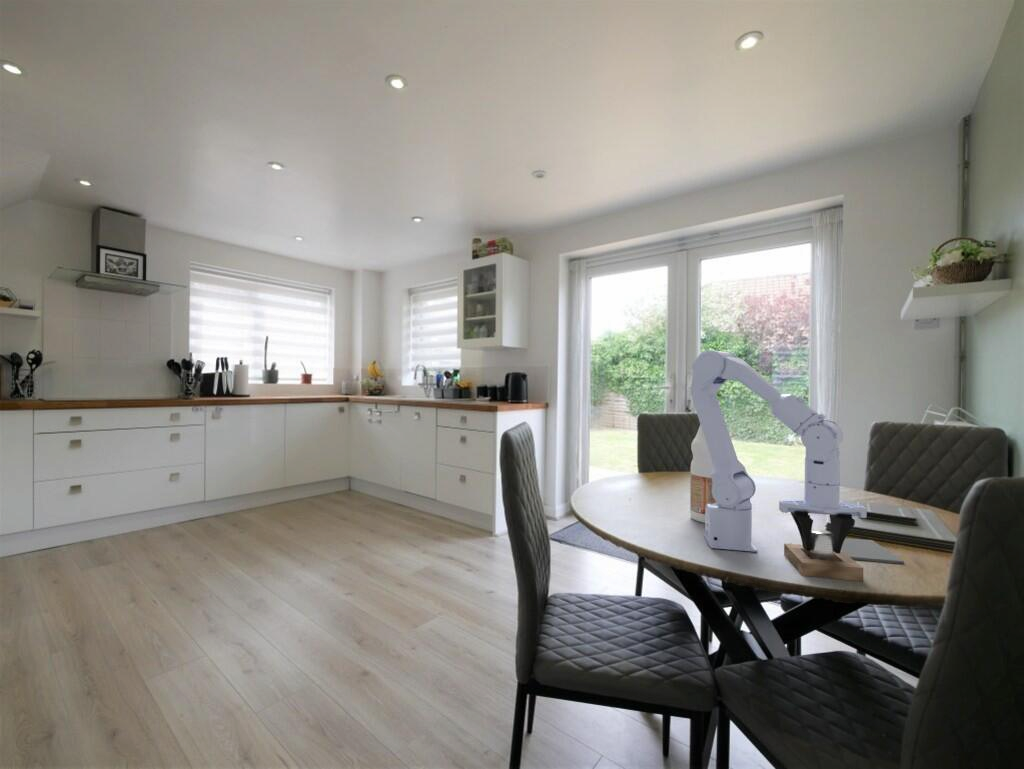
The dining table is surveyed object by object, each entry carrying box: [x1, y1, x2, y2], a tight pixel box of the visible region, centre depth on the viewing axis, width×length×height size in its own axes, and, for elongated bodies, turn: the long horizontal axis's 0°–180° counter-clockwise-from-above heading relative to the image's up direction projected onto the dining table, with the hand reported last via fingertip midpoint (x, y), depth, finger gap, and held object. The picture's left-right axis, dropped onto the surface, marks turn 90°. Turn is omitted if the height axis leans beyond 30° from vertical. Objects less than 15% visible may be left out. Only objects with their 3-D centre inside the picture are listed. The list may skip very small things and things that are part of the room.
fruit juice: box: [689, 424, 716, 524], centre depth 119 cm, size 9×9×28 cm
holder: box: [783, 543, 864, 582], centre depth 89 cm, size 10×10×2 cm
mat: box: [841, 537, 905, 565], centre depth 98 cm, size 12×12×1 cm
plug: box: [809, 528, 834, 561], centre depth 89 cm, size 4×4×7 cm
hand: (821, 550), depth 89 cm, fingers open, 4 cm apart
